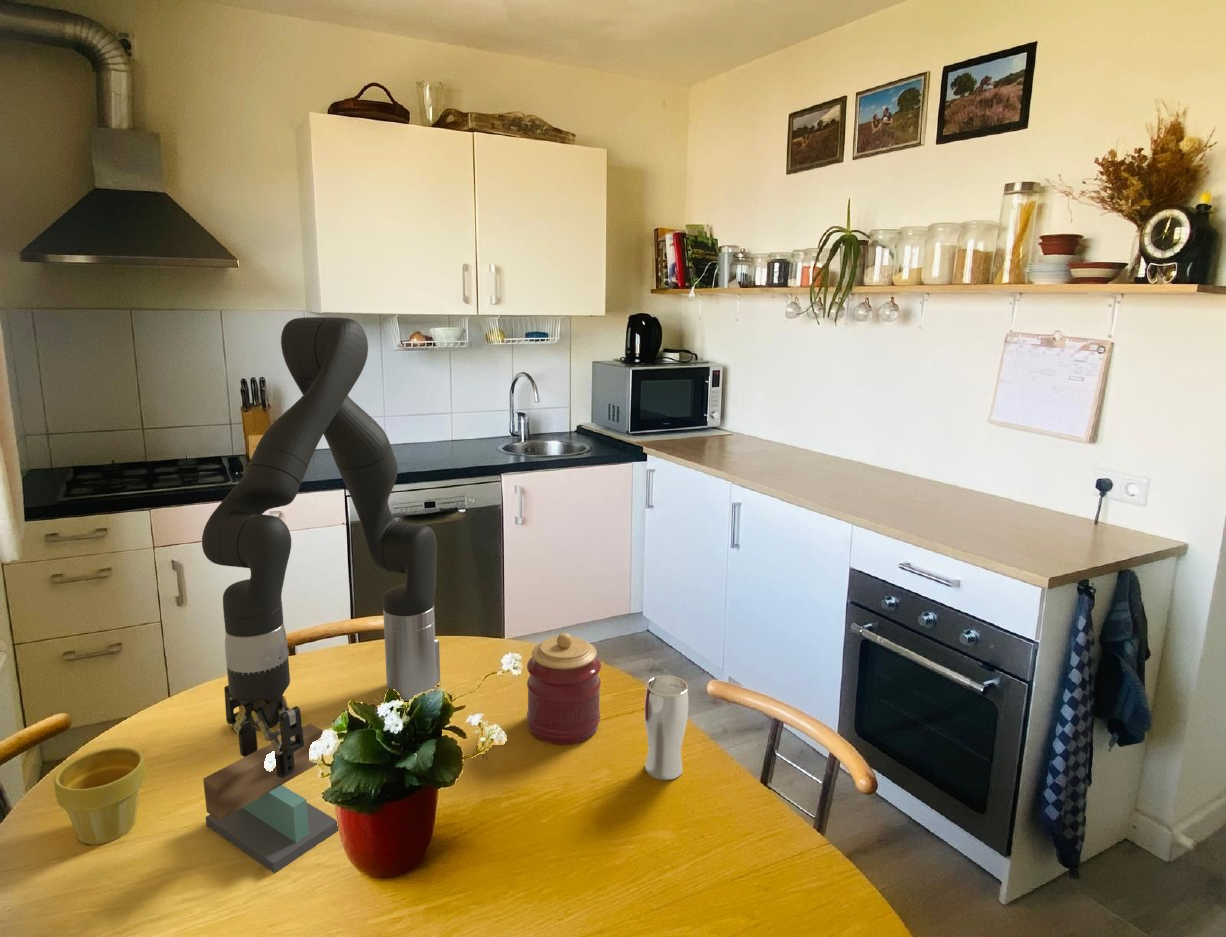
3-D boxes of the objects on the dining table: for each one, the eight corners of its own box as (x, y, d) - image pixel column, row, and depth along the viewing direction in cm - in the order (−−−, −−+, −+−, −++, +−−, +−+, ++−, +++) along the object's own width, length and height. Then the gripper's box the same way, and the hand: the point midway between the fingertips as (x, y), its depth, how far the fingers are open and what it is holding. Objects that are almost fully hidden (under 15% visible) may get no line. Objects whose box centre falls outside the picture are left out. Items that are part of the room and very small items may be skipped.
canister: (598, 747, 129) (600, 652, 125) (522, 745, 129) (521, 649, 125) (601, 707, 141) (603, 619, 137) (531, 704, 142) (531, 617, 138)
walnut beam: (311, 753, 113) (309, 723, 112) (324, 760, 112) (322, 729, 111) (206, 811, 100) (203, 778, 99) (219, 820, 99) (216, 786, 98)
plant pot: (157, 798, 113) (150, 739, 111) (143, 844, 104) (134, 781, 102) (75, 813, 110) (66, 753, 107) (53, 862, 100) (42, 797, 98)
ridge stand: (270, 789, 116) (267, 748, 114) (338, 830, 107) (335, 786, 106) (206, 825, 108) (201, 782, 106) (274, 873, 99) (270, 827, 98)
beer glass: (662, 788, 118) (666, 701, 115) (633, 766, 124) (636, 682, 120) (694, 771, 123) (698, 687, 119) (664, 751, 128) (668, 670, 125)
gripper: (315, 660, 101) (322, 768, 105) (252, 633, 108) (261, 734, 112) (263, 683, 95) (273, 797, 98) (200, 653, 102) (211, 759, 106)
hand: (267, 764), depth 105 cm, fingers open, 8 cm apart
